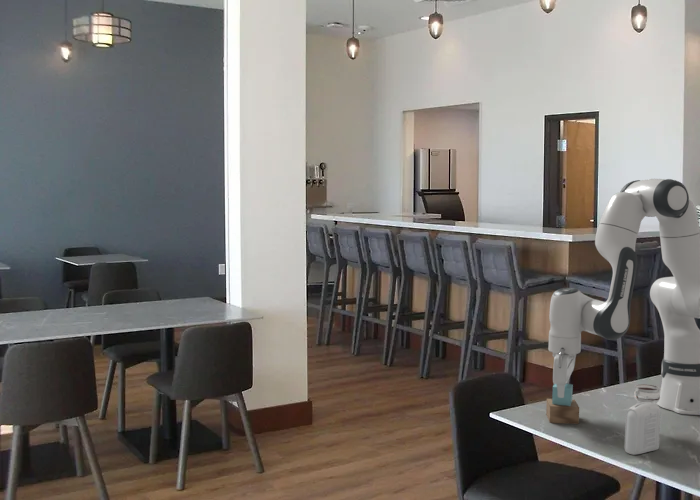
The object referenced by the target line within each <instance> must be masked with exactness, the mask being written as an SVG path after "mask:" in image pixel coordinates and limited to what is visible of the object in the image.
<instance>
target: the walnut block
mask: <svg viewBox="0 0 700 500" xmlns="http://www.w3.org/2000/svg"><path fill="white" fill-rule="evenodd" d="M545 410H546V411H545V412H546V414H545V415H546V417H547V420H548V422H549V424H550V423H551V424H552V423H553V424H570V425H571V424H572V425H573V424H574V425H579V424H580V406H579V404H578V403H577V400H576V399H572V403H571V405H570V406H566V405H556V404H552V398H546V409H545Z"/></svg>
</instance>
